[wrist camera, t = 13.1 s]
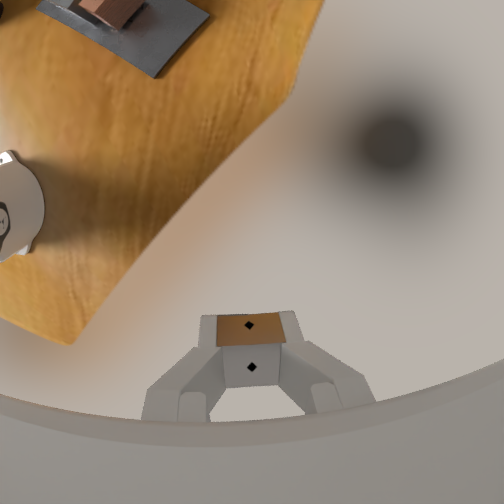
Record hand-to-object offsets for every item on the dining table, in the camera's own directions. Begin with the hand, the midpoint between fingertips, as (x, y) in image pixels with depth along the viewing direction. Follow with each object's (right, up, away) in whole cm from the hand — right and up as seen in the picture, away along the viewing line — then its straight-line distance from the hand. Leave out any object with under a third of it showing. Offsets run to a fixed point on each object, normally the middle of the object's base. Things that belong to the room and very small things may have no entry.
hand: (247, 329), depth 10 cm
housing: (-21, +39, +19) cm, 48 cm away
